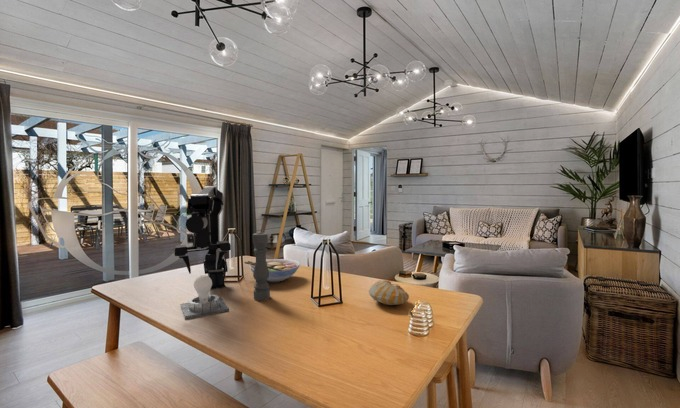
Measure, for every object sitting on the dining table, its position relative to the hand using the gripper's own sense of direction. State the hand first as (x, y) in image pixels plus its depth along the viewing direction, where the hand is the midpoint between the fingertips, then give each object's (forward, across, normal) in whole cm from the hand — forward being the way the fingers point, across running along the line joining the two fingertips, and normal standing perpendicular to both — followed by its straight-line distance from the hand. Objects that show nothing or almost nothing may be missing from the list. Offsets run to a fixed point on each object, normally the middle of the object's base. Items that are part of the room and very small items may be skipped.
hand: (203, 271), depth 125 cm
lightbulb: (+12, +1, +3) cm, 12 cm away
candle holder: (+13, -20, +4) cm, 24 cm away
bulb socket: (+12, +1, +4) cm, 13 cm away
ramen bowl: (+13, -33, -17) cm, 40 cm away
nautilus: (+13, -60, +33) cm, 69 cm away
